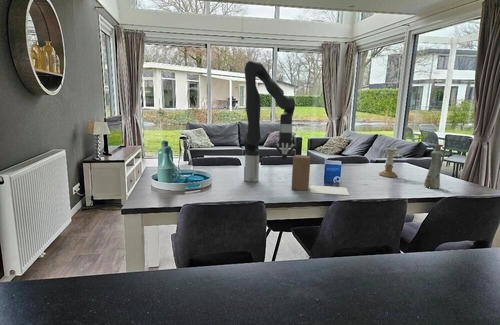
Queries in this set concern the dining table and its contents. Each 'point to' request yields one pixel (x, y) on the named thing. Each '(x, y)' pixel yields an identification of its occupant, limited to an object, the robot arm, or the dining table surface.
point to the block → (300, 172)
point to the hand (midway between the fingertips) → (284, 160)
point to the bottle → (434, 169)
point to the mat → (329, 190)
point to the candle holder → (389, 163)
